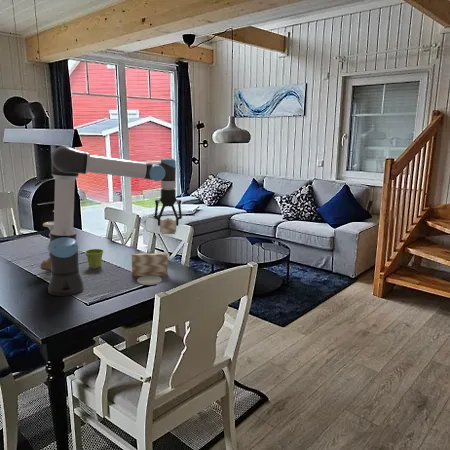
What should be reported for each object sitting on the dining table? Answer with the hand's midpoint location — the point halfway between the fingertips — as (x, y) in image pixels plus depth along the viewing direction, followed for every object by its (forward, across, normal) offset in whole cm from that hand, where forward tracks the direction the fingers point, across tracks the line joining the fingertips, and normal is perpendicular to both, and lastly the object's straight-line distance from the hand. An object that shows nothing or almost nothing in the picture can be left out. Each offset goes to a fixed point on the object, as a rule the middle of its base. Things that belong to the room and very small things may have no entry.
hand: (168, 231), depth 211 cm
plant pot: (+21, +39, -7) cm, 45 cm away
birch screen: (+21, +9, +8) cm, 24 cm away
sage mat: (+21, +9, +17) cm, 29 cm away
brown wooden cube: (0, 0, 0) cm, 0 cm away
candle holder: (+21, +60, -8) cm, 64 cm away
